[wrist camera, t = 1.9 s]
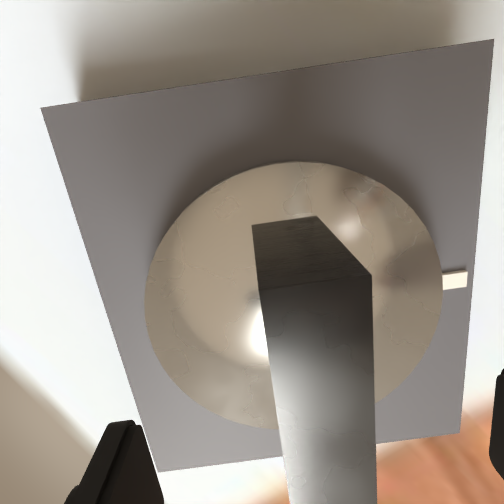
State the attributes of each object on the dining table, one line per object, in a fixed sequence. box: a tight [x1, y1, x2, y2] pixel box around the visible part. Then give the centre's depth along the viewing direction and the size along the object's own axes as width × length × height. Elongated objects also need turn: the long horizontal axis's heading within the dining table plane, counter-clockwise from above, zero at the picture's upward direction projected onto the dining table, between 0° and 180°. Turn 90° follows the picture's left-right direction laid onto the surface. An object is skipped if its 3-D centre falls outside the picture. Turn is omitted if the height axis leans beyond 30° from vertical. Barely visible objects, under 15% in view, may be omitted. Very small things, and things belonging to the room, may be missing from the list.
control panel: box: [41, 39, 494, 472], centre depth 16 cm, size 18×16×3 cm
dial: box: [144, 160, 443, 504], centre depth 11 cm, size 12×12×6 cm
